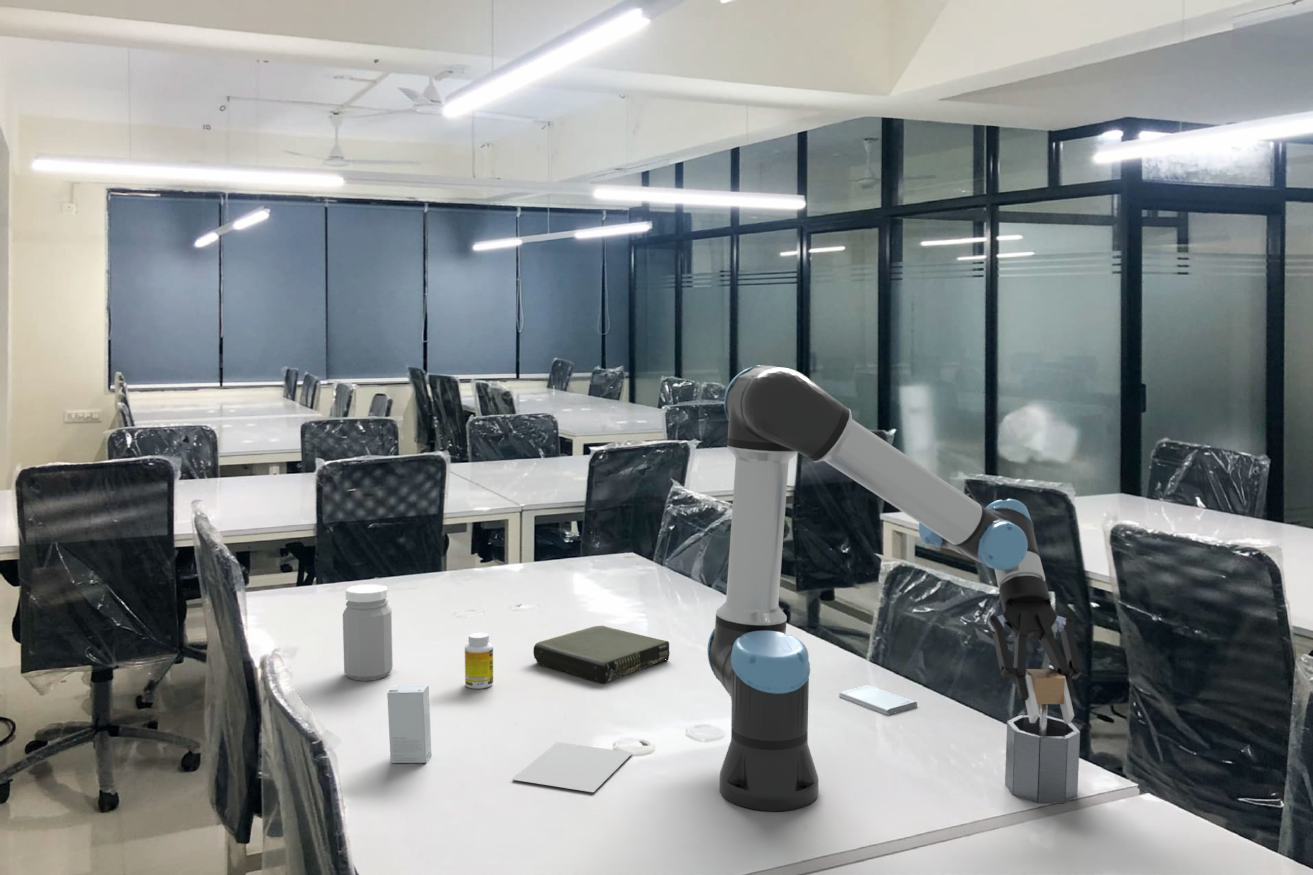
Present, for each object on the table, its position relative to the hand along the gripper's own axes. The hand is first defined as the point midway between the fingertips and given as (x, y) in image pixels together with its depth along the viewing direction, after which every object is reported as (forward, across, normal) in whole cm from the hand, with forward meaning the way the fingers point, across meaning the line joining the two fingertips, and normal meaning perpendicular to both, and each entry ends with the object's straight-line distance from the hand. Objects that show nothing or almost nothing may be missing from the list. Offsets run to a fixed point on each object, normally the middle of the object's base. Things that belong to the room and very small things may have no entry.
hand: (1052, 718), depth 161 cm
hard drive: (-21, +18, -40) cm, 49 cm away
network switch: (-37, +73, -56) cm, 99 cm away
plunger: (+5, 0, -10) cm, 11 cm away
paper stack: (-1, +76, -20) cm, 79 cm away
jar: (-30, +120, -48) cm, 133 cm away
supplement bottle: (-26, +96, -44) cm, 109 cm away
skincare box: (+1, +100, -17) cm, 101 cm away
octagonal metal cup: (+6, 0, -12) cm, 13 cm away
